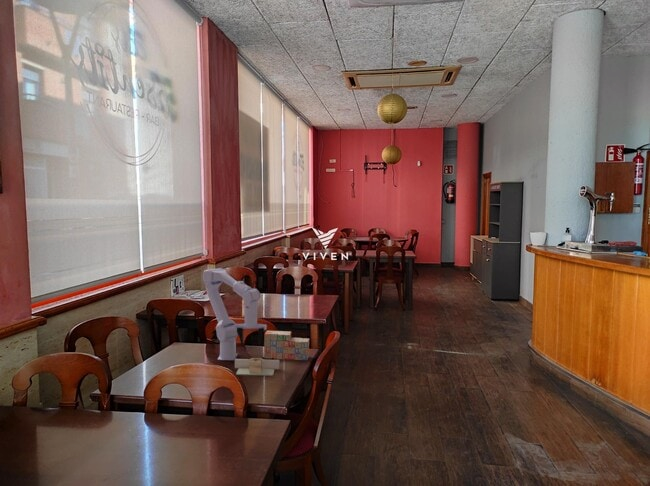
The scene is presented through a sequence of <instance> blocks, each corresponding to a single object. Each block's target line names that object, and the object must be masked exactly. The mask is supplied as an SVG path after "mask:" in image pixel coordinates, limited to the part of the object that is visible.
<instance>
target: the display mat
mask: <svg viewBox="0 0 650 486" xmlns="http://www.w3.org/2000/svg"><path fill="white" fill-rule="evenodd" d="M274 373H275V369H262V371H261V373H249V368H237V371H236V373H235V376H266V377H267V376H270V377H271V376H274Z"/></svg>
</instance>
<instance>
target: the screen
mask: <svg viewBox="0 0 650 486" xmlns="http://www.w3.org/2000/svg"><path fill="white" fill-rule="evenodd" d="M250 359H251V358H249V359H248V358H235V360H234V369H239V368H249V362H250ZM262 369H274V370H280V359H262Z"/></svg>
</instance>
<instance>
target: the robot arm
mask: <svg viewBox="0 0 650 486" xmlns="http://www.w3.org/2000/svg"><path fill="white" fill-rule="evenodd" d="M201 278H202V281H203V285H204V288H205V291H206V294H207V297H208V299H209V302H210V304H211V307H212V310H213V312H214V315H215V317H216V320H217V324H216V326H215V331H216V337H217V339H218V341H219V356H218V357H217V360H218V361H235V359H237V357H238V355H239V354H238V352H237V351H236V350H237V349H236V347H237V341H236V339H237V337H239V341H240V346H242V345H243V344H244V330H257V346H259V345H260V343H261V339H262V335H263V333H264V332H265V331H267V328H268V326H267V324H263V323H258V301H259V300H260V299H261V292H260V291H259V290H258V288H252V287H251V286H249V285H247V284H246V283H245V281H243V280H238V281H237V280H236V279H235V278H234V277H232V276H231V275H230V274H229V273H227V270H226V269H224V268H223V267H219V268H210V269H205V270H204V271H203V273H202V277H201ZM222 283H224V284H226V285H228V286H230V287H231V288H232V291H233V292H234V293H236V294H237V295H238V296H239V297H241V299H242V300H243V305H244V323H236V322H235V321H234V319H232V318H230V317H229V314H228V311H227V310H226V306H225V304H224V301H223V299H222V296H221V294H220V290H219V287H220V286H221V284H222ZM236 352H237V353H236Z"/></svg>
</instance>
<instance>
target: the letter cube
mask: <svg viewBox="0 0 650 486" xmlns="http://www.w3.org/2000/svg"><path fill="white" fill-rule="evenodd" d="M249 359H250V362H249V373H261V371H262V360H263V358H262V357H251V358H249Z"/></svg>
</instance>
